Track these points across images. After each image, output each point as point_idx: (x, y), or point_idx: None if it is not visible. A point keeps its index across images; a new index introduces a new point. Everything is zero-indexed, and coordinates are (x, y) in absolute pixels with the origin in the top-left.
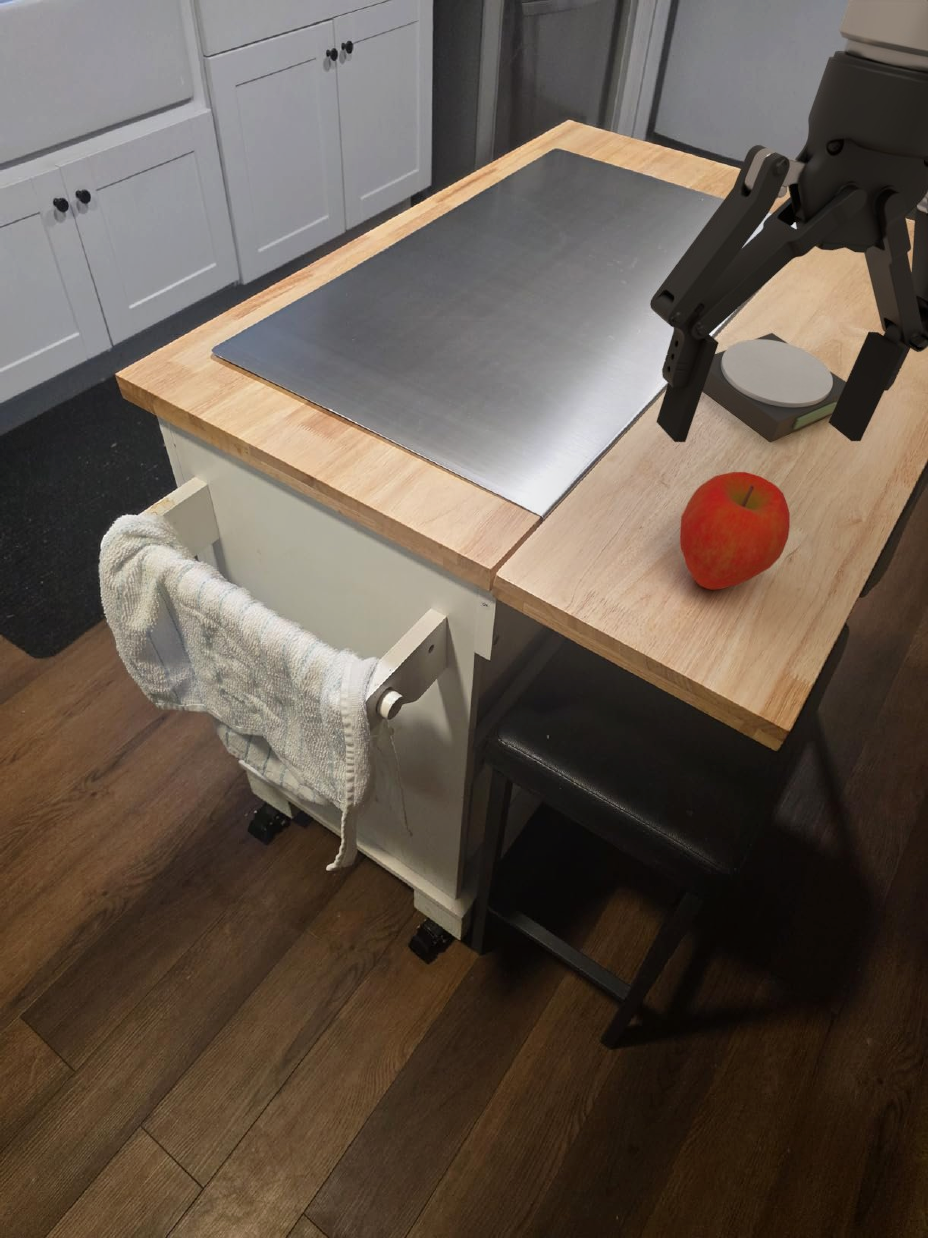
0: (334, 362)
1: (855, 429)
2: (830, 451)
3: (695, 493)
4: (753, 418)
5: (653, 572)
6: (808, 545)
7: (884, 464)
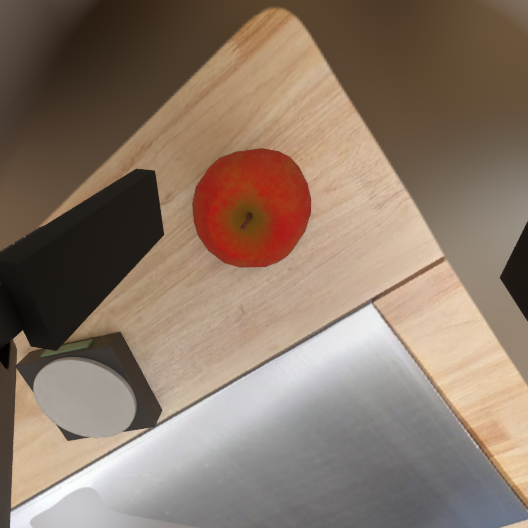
0: (445, 488)
1: (144, 181)
2: None
3: (289, 252)
4: (127, 358)
5: None
6: None
7: None
